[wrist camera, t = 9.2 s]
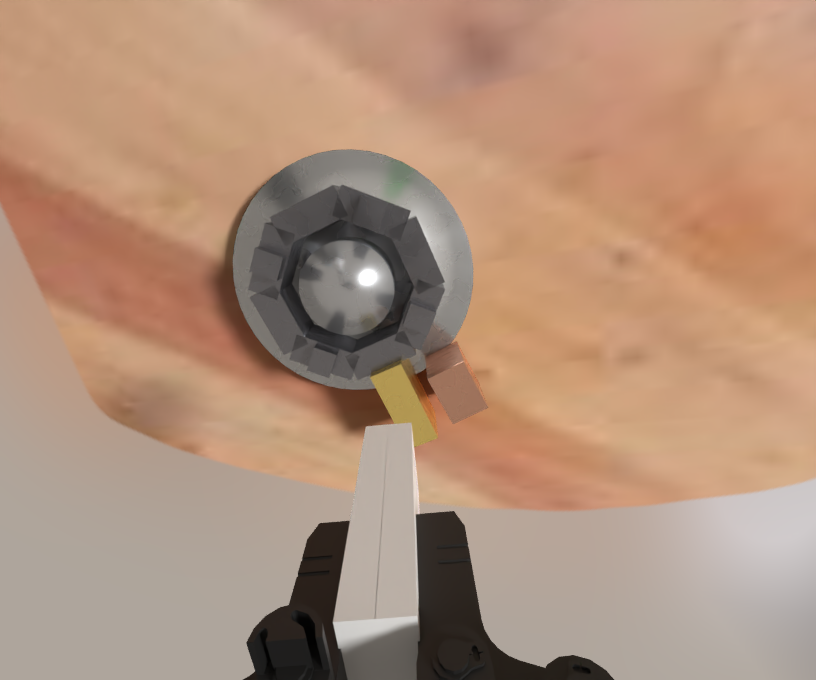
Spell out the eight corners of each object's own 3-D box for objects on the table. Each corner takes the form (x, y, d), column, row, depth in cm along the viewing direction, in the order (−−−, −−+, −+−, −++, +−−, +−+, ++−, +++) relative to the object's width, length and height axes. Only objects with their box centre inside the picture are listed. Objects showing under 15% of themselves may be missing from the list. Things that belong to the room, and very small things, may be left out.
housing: (193, 229, 31) (146, 234, 26) (401, 101, 29) (399, 76, 23) (337, 441, 37) (324, 484, 32) (522, 352, 34) (544, 381, 29)
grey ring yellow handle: (237, 239, 30) (210, 244, 26) (392, 161, 28) (389, 154, 24) (355, 444, 35) (348, 475, 31) (491, 388, 33) (502, 413, 29)
